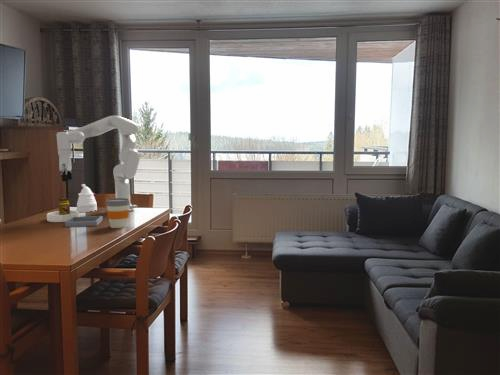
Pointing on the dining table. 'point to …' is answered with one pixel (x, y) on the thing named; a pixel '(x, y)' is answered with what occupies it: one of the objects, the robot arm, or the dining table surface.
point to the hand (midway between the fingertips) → (67, 180)
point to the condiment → (64, 206)
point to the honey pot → (86, 200)
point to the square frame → (84, 221)
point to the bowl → (61, 216)
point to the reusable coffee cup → (118, 212)
